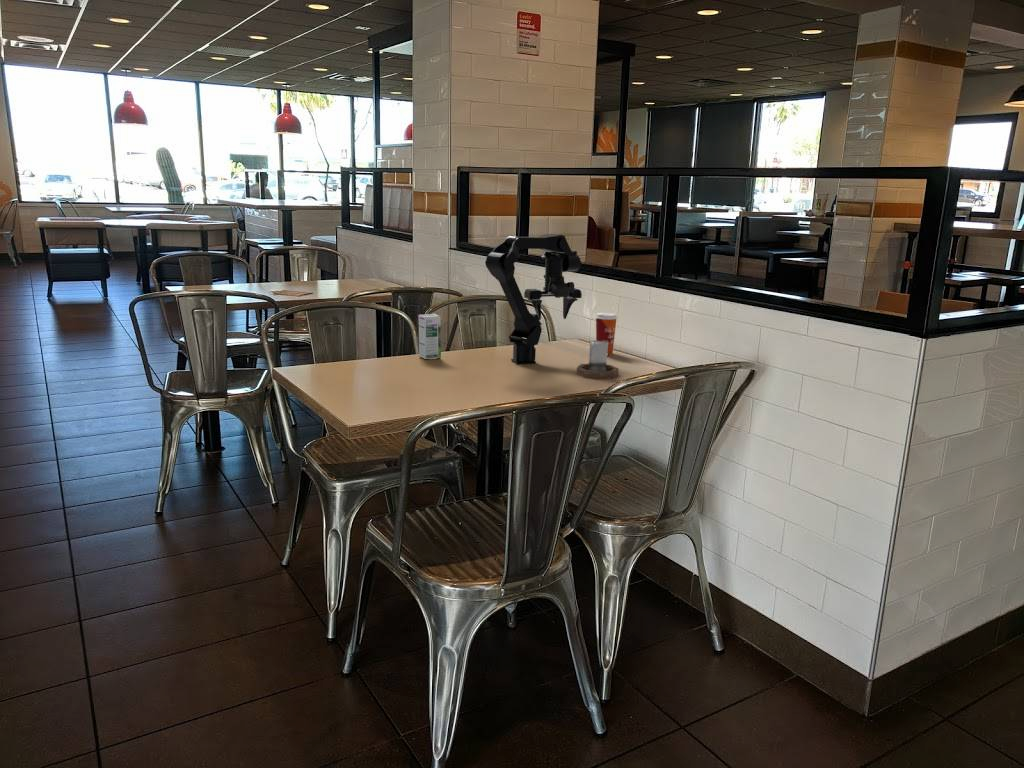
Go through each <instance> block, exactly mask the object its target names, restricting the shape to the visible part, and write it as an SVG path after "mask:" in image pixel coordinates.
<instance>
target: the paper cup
mask: <svg viewBox="0 0 1024 768" xmlns="http://www.w3.org/2000/svg"><path fill="white" fill-rule="evenodd" d="M617 316H618V315H617V314H616V313H613V312H597V313H596V316H594V318H595V328H596V329H595V341H605V342H608V351H607V354H611V355H613V353H614V344H615V335H616V334H615V333H616V324H617V319H618V317H617Z"/></svg>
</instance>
